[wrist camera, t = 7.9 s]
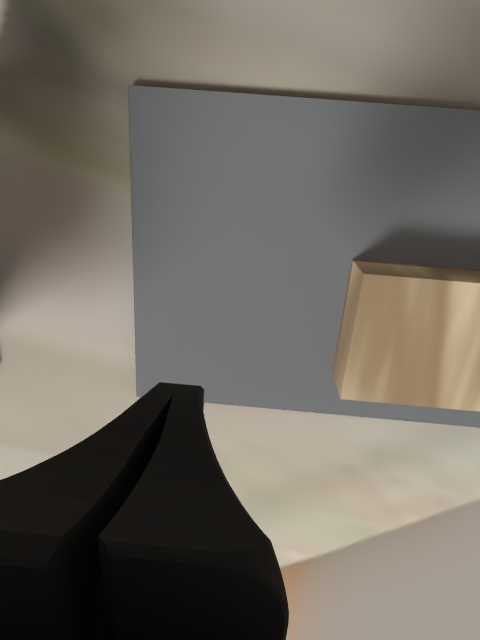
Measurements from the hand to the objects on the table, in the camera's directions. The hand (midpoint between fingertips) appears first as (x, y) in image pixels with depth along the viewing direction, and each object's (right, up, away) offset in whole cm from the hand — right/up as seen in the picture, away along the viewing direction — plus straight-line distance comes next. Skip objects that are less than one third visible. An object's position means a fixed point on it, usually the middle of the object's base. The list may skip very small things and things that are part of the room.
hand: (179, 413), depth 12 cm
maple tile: (+7, +2, +7) cm, 10 cm away
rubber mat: (+7, +5, +8) cm, 11 cm away
